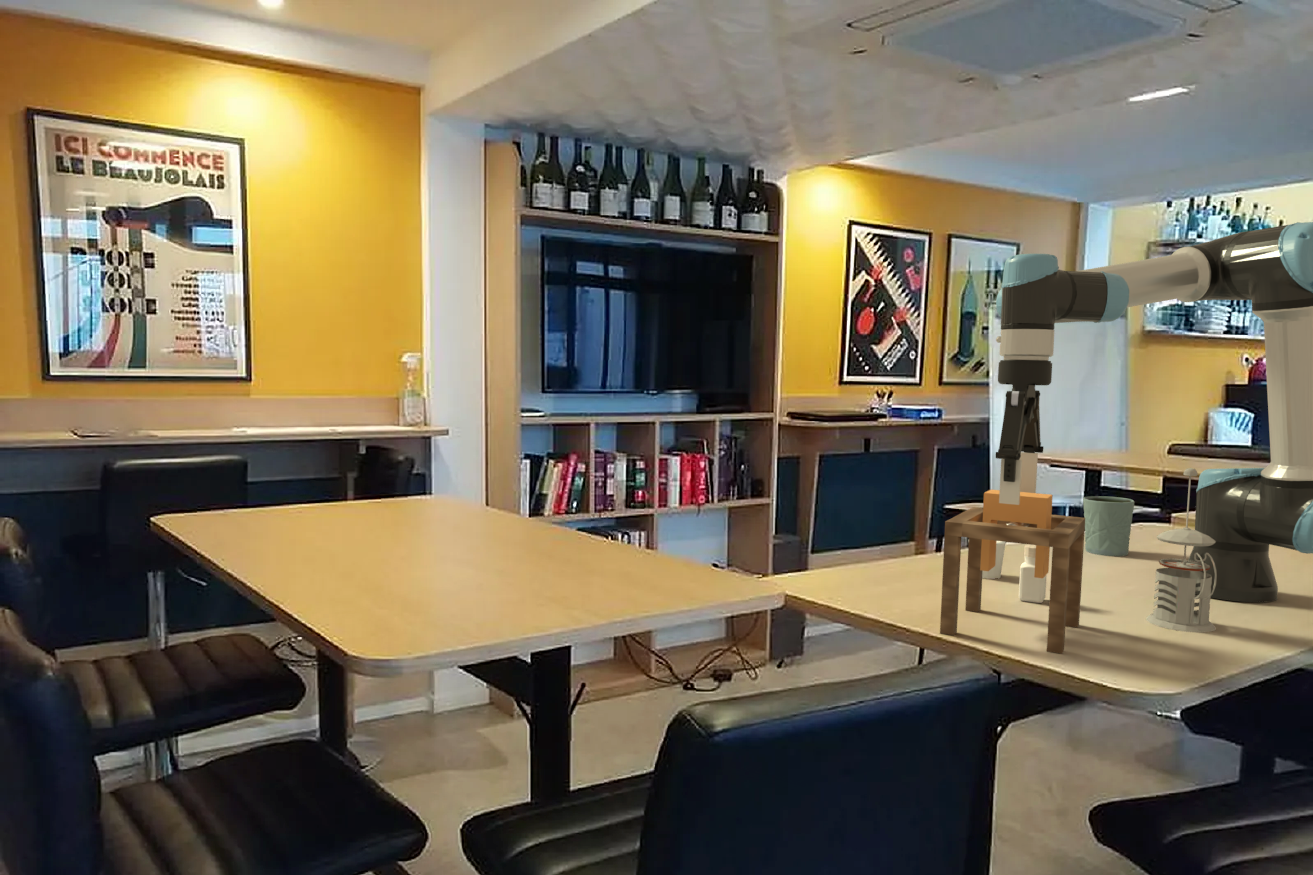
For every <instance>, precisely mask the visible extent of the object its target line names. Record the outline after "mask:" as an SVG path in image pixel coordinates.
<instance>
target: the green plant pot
mask: <svg viewBox="0 0 1313 875" xmlns="http://www.w3.org/2000/svg"><path fill="white" fill-rule="evenodd" d="M1082 503H1083V512H1084V513H1083V516H1084V517H1083V518H1085V533H1084V545H1085V546H1084V548H1085V551H1086V552H1087V553H1090V554H1092V555H1096V556H1097V555H1098V556H1105V557H1107V556H1108V557H1126V556H1128V555H1129V548H1130V537H1131V531H1132V529H1131V528H1132V523H1133V515H1134V514H1133V513H1134V508H1135V501H1134V500H1133V499H1131V498H1126V497H1119V496H1118V497H1117V496H1104V495H1103V496H1102V495H1101V496H1100V495H1095V496H1092V495H1091V496H1084V497H1083V498H1082Z"/></svg>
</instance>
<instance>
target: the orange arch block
mask: <svg viewBox="0 0 1313 875" xmlns="http://www.w3.org/2000/svg"><path fill="white" fill-rule="evenodd" d="M999 493H1000V489H992V488H991V489H988V490H987V491H985V492H984V493H983V506H982V508H983V522H984V523H994V524H997V520H1000V521H1010V522H1020V523H1029V524H1037V528H1042V529H1051V515H1053V514H1052V513H1053V494H1051V493H1050V494H1049V493H1037V492H1036V493H1027V492H1020V503H1019V505H1014V504H1003V503H999ZM1050 549H1051V547H1047V546H1039V545H1036V555H1035V574H1034V577H1036V578H1044V577H1045V576H1046V574H1049V567H1050ZM995 561H996V541H995V540H986V539H982V544H981V564H980V570H982V571H989V570H991V569H992V568H993V567H994V566H995ZM1046 577H1047V576H1046Z"/></svg>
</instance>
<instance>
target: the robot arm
mask: <svg viewBox="0 0 1313 875" xmlns="http://www.w3.org/2000/svg"><path fill="white" fill-rule="evenodd" d="M1058 259H1059V258H1058V257H1057V256H1056V255H1054V254H1050V253H1023V254H1016V255H1015V254H1014V255H1011V256H1010V257H1008V258H1007V259H1006V260H1005V263H1004V268H1003V273H1002V283H1001V286H1000V287H1001V288H1000V290H999V292H998V293H997V296H996V300H995V305H996V306H995V307H996V311H997V314H998V316H999V317H1000V336H997V337H996V338H995V341H996V343H999V355H1000V356H1001V357H1003V359H1002V360H1001V359H1000V360H999V362H998V370H997V382H998V384H1000V385H1012V388H1011V390H1007V391H1006V393H1005V407H1004V414H1003V418H1002V428H1001V434H1000V438H999V439H1000V441H999V447H998V450H997V451H996V452H995V459H996V460H997V459H998V460H999V459H1000V473H999V474H1000V479H999V490H1000V493H999V503H1003V504H1014V505H1019V503H1020V492H1027V493H1037V480H1038V479H1037V478H1038V477H1037V476H1038V462H1039V461H1038V460H1039V459H1038V458H1039V454H1041V453H1042V454H1043V453H1044V446H1042V442H1041V421H1040V420H1041V419H1040V418H1041V417H1040V415H1041V414H1040V396H1041V392H1040V390H1036V386H1049V385H1051V383H1052V378H1053V377H1052V376H1053V375H1052V373H1053V362H1052V361H1051V360H1049V359H1050V358H1051V357H1053V356H1054V348H1055V347H1054V346H1055V324H1060V323H1077V322H1079V323H1080V322H1081V323H1083V322H1084V323H1085V322H1086V323H1087V322H1089V323H1090V322H1091V323H1095V324H1097V323H1098V324H1099V323H1105V322H1106V323H1109V322H1114V321H1116V320H1118V319H1119V318H1121V316H1123V314H1125V312H1126V310H1127V308H1132V307H1138V306H1143V305H1148V304H1154V303H1159V302H1167V301H1171V300H1172V301H1173V300H1178V301H1180V302H1181V303H1192V302H1193V303H1194V302H1199V301H1216V300H1219V301H1225V300H1226V301H1251V311H1252V312H1251V313H1252V314H1254V315H1255V316H1256V317H1257V318H1259V319H1260V320H1262V322H1263V331H1264V332H1263V333H1264V334H1263V335H1264V349H1265V353H1264V354H1265V369H1266V370H1265V371H1266V372H1265V373H1266V391H1267V392H1266V393H1267V394H1266V395H1267V406H1268V407H1267V409H1268V410H1267V412H1268V431H1269V433H1268V434H1269V446H1270V447H1269V452H1270V462H1269V464H1268V465H1267V466H1266V467H1249V468H1248V467H1247V468H1246V467H1245V468H1244V467H1242V468H1239V467H1238V468H1237V467H1236V468H1235V467H1234V468H1232V467H1231V468H1207V469H1204V470H1203V471H1202V472H1200V474H1199V477H1198V483H1197V488H1196V490H1195V491H1196V494H1195V496H1196V499H1195V518H1194V519H1195V520H1194V521H1195V522H1194V530H1196V531H1199V532H1201V533H1203V534H1205V535H1208V536H1210V537H1211V538H1212V539H1213V540H1215V543H1214V544H1213V545H1211V546H1192V549H1191V552H1190V554H1189V557H1188V558H1187V561H1188V560H1189V561H1190V560H1191V561H1193V562H1197V561H1195V559H1194V554H1195V553H1198V554H1199V555H1200V556H1201V557H1202V560H1203V559H1204V558H1205V554H1206V553H1209V554H1210V556H1211V557H1212V559H1213V561H1214V563H1215V567H1216V574H1217V577H1216V586H1215V589H1214V592H1213V594H1212V595H1211V596H1210V599H1211V598H1212V599H1218V600H1223V601H1231V602H1243V603H1267V602H1268V603H1270V602H1274V601H1276V600H1278V590H1279V589H1278V587H1279V586H1278V582H1277V580H1276V576H1275V573H1274V570H1273V566H1272V563H1271V560H1270V556H1269V555H1270V554H1269V552H1270V545H1271V546H1275V547H1280V548H1284V549H1289V550H1292V551H1293V550H1294V551H1297V552H1299V553H1302V554H1313V221H1308V222H1302V221H1301V222H1298V221H1297V222H1294V223H1290V224H1284V225H1279V226H1274V227H1266V228H1261V229H1255V230H1246V231H1241V232H1237V233H1233V234H1229V235H1226V236H1223V237H1219V238H1216V239H1213V240H1209V241H1205V242H1202V243H1199V244H1195V245H1190V246H1189V245H1188V246H1183V247H1180V248H1178V249H1176V250H1174V252H1173V253H1172V254H1170V255H1165V256H1159V257H1153V258H1146V259H1141V260H1134V261H1128V262H1124V263H1116V264H1111V265H1105V266H1104V265H1103V266H1100V267H1098V266H1097V267H1094V268H1087V269H1081V270H1062V269H1059V268H1060V267H1059V260H1058ZM1196 559H1197V560H1200V558H1199V556H1198V555H1197V554H1196ZM1203 562H1204V563H1206V564H1207V565H1209V566H1210V569H1209V570H1207V571H1206V573H1208V574H1210V575H1211V576H1212V584H1211V592H1212V590H1213V586H1214V580H1215V572H1214V566H1213V563H1212V561H1211V559H1210V557H1209V556H1208V555H1206V560H1205V561H1203ZM1201 563H1202V562H1201ZM1200 572H1204V571H1200ZM1200 585H1201V583H1196V587H1200ZM1199 594H1200V591H1197V592H1195V595H1199Z"/></svg>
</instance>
